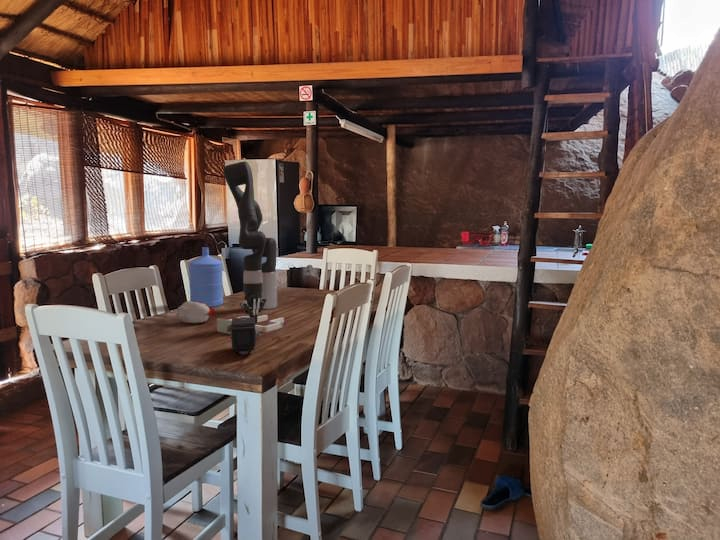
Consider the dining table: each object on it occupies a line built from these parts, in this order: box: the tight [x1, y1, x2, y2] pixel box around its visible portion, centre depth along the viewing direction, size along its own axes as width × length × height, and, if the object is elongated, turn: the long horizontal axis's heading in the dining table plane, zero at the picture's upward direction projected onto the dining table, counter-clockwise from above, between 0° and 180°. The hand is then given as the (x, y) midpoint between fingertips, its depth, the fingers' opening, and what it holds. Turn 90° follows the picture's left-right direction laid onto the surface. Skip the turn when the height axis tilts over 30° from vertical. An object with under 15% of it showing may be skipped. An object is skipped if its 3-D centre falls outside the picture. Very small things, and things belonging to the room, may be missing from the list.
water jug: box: [188, 246, 224, 308], centre depth 263 cm, size 16×16×28 cm
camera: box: [227, 316, 261, 355], centre depth 181 cm, size 11×11×15 cm
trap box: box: [216, 314, 285, 335], centre depth 218 cm, size 27×22×5 cm
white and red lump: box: [175, 300, 216, 324], centre depth 226 cm, size 9×11×15 cm
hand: (253, 323), depth 219 cm, fingers closed
